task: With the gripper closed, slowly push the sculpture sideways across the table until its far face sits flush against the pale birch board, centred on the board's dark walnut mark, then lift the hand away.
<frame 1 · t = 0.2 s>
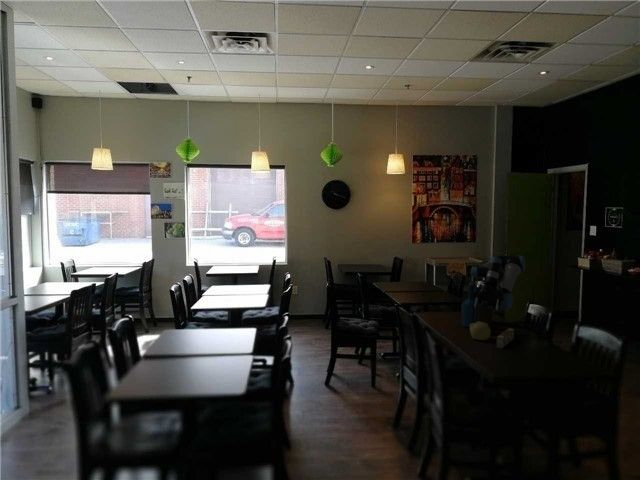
hand: (485, 308, 295), 16 cm above the table, tool tilted 35°, fingers open, 13 cm apart
sculpture: (480, 339, 282), on the table
wine bottle: (471, 326, 315), on the table
canister: (482, 332, 298), on the table
board: (505, 342, 273), on the table
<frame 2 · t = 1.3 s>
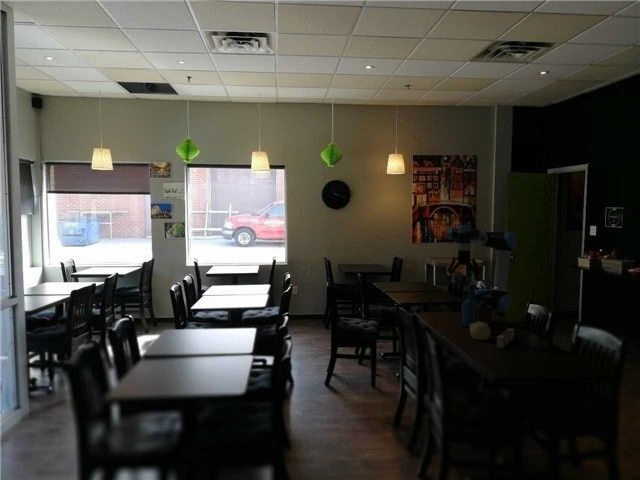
hand: (463, 283, 288), 33 cm above the table, tool pointing down, fingers open, 13 cm apart
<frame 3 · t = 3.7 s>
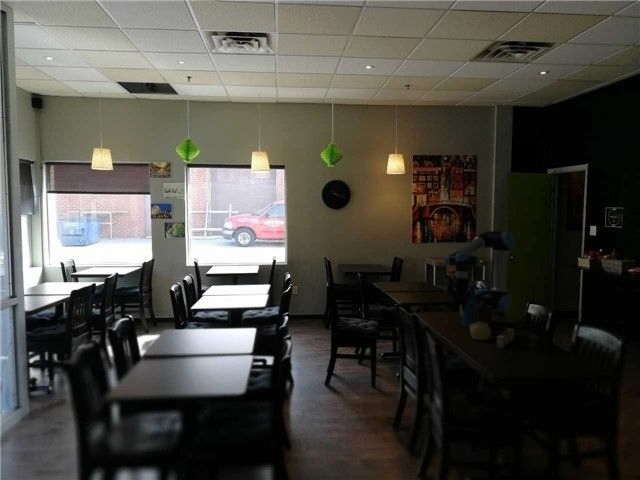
hand: (461, 315, 288), 14 cm above the table, tool pointing down, fingers closed
nothing on the table moved.
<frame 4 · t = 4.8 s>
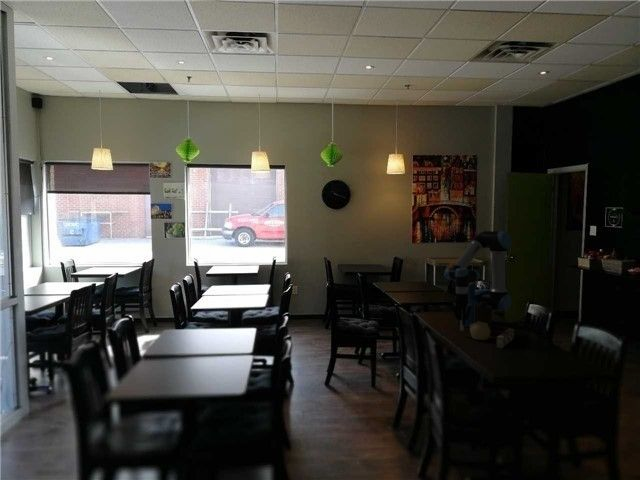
hand: (461, 330, 289), 4 cm above the table, tool pointing down, fingers closed
nothing on the table moved.
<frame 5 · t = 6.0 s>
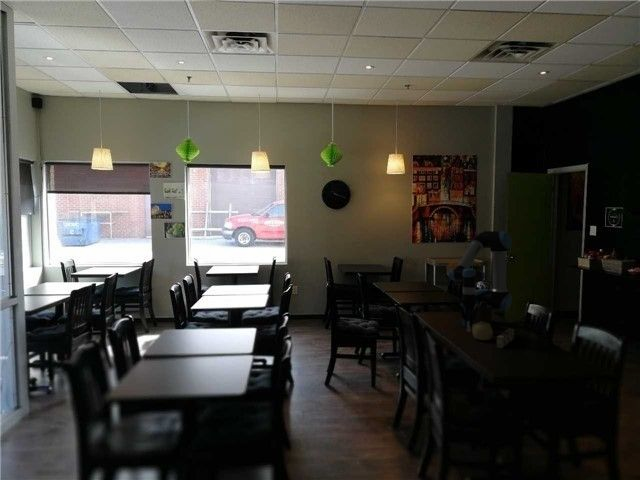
hand: (468, 331, 286), 4 cm above the table, tool pointing down, fingers closed
sculpture: (482, 339, 281), on the table, touching gripper
everything else where it was.
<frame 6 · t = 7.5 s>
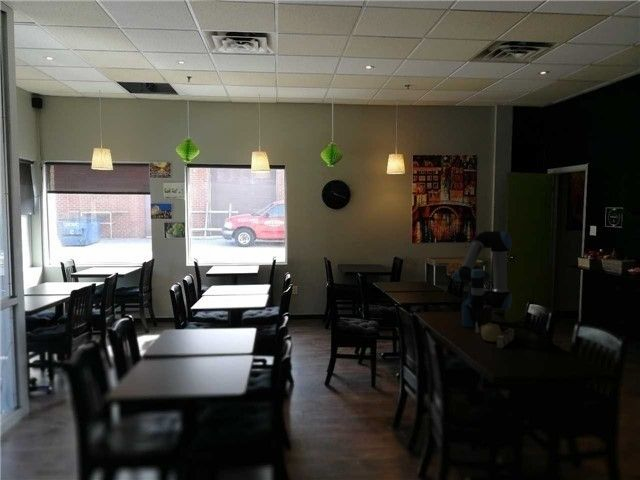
hand: (477, 332, 283), 4 cm above the table, tool pointing down, fingers closed
sculpture: (491, 341, 278), on the table, touching gripper
everything else where it was.
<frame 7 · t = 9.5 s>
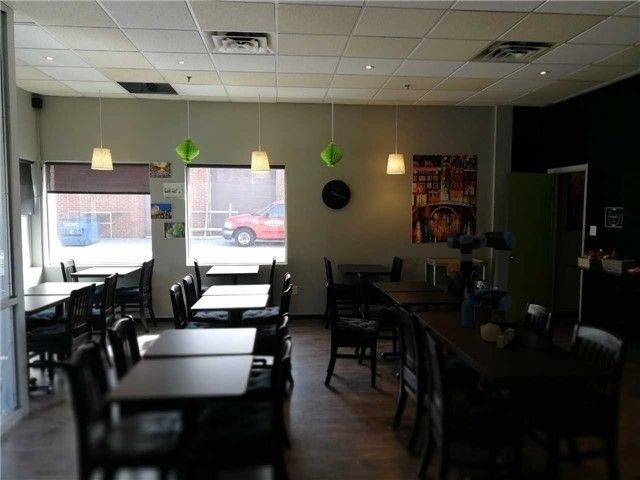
hand: (466, 297, 287), 25 cm above the table, tool pointing down, fingers closed
sculpture: (491, 341, 278), on the table
everything else where it was.
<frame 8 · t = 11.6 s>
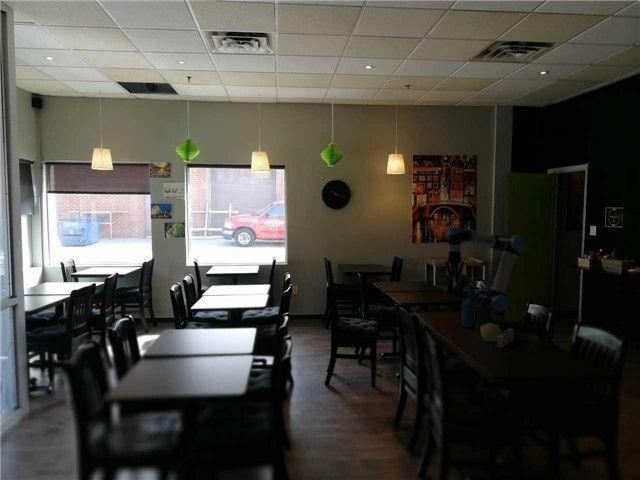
hand: (454, 286, 301), 29 cm above the table, tool pointing down, fingers closed
nothing on the table moved.
at the end: sculpture 0.8 cm from the target spot on the table beside the board, on the table; sculpture tilted 0° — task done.
